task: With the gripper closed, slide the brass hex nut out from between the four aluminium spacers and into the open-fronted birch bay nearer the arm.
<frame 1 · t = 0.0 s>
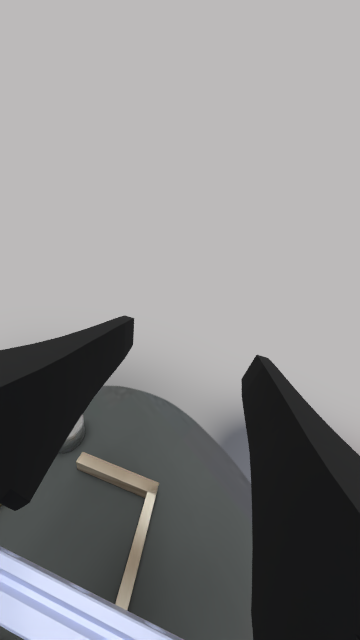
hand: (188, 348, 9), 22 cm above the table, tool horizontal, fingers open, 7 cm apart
birch bay: (86, 550, 14), on the table
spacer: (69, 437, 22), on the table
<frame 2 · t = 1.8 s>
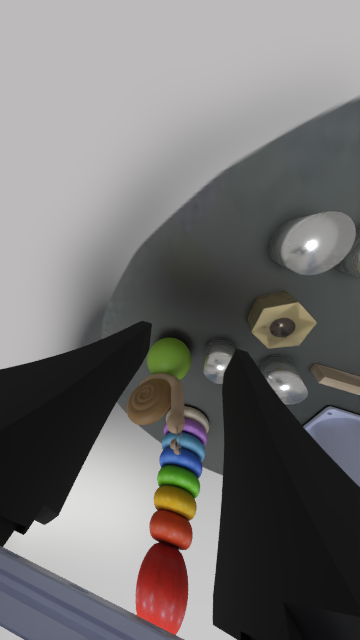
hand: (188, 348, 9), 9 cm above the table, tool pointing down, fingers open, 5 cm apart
spacer 2: (292, 243, 13), on the table
spacer 3: (275, 365, 19), on the table
snail figurine: (178, 344, 21), on the table
brass nut: (272, 313, 16), on the table
spacer 4: (220, 349, 20), on the table
stacking toy: (188, 415, 29), on the table
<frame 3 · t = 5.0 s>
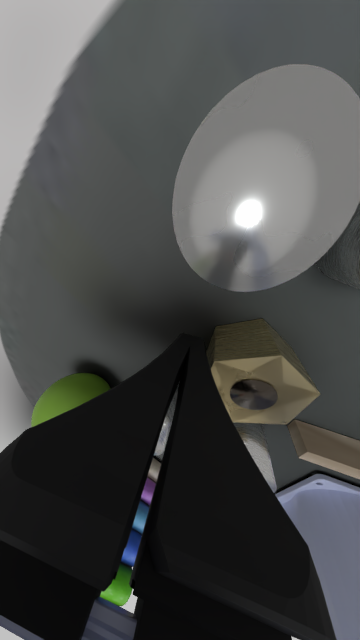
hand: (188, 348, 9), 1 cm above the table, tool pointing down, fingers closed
spacer 2: (237, 222, 7), on the table
spacer 3: (237, 416, 13), on the table
snail figurine: (104, 378, 15), on the table
brass nut: (244, 352, 10), on the table, touching gripper
spacer 4: (158, 389, 14), on the table
stacking toy: (142, 458, 23), on the table
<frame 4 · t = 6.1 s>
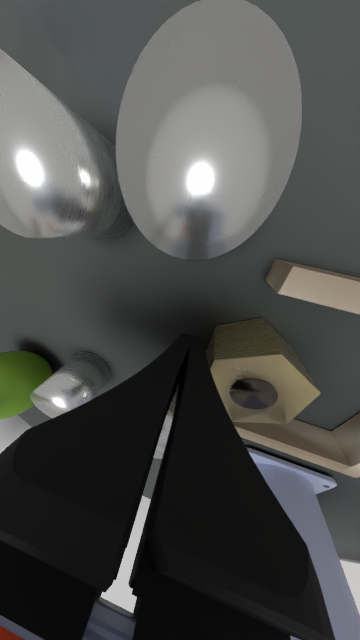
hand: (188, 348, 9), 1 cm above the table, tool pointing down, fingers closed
spacer 2: (103, 193, 7), on the table
spacer 3: (165, 391, 13), on the table
birch bay: (313, 373, 9), on the table
snail figurine: (47, 358, 16), on the table
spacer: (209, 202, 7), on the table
brass nut: (244, 351, 10), on the table, touching gripper
spacer 4: (93, 366, 14), on the table
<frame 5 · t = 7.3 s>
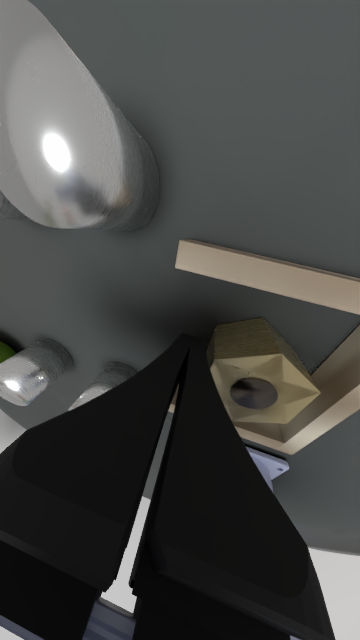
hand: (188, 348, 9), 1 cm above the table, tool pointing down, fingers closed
spacer 2: (31, 179, 8), on the table
spacer 3: (123, 377, 14), on the table
birch bay: (246, 353, 10), on the table
snail figurine: (14, 347, 16), on the table
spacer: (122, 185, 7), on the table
brass nut: (244, 351, 10), on the table, touching gripper
spacer 4: (55, 354, 15), on the table
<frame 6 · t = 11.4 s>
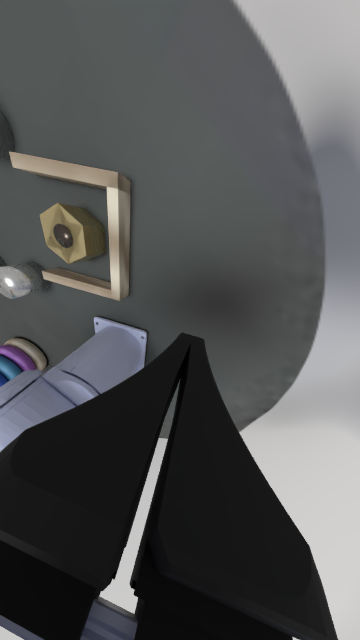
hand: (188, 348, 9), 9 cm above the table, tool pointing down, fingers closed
spacer 3: (38, 276, 21), on the table
birch bay: (87, 237, 17), on the table
brass nut: (87, 236, 17), on the table
stacking toy: (32, 351, 31), on the table
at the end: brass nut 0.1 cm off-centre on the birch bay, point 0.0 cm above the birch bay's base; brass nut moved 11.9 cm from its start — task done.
